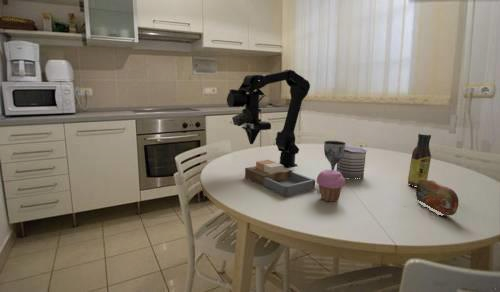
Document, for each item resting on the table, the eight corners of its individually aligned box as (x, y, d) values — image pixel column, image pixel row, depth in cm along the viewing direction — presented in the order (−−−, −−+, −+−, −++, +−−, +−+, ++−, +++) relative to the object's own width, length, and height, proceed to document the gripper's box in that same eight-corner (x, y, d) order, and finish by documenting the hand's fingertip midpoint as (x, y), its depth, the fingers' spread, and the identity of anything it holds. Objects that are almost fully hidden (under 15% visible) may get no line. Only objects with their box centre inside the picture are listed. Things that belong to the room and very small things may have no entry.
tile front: (275, 168, 116) (275, 162, 116) (283, 171, 113) (283, 165, 112) (263, 170, 113) (263, 164, 112) (271, 173, 109) (271, 167, 109)
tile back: (267, 165, 120) (268, 159, 120) (274, 168, 117) (275, 162, 116) (256, 167, 117) (256, 161, 116) (262, 170, 113) (263, 164, 113)
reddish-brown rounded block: (413, 200, 97) (417, 176, 95) (422, 200, 97) (426, 176, 96) (447, 221, 83) (452, 193, 81) (457, 221, 83) (463, 192, 81)
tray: (291, 180, 115) (292, 171, 114) (314, 189, 105) (315, 180, 105) (263, 186, 107) (263, 177, 106) (285, 197, 98) (285, 187, 97)
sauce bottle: (419, 189, 107) (427, 136, 103) (403, 184, 113) (410, 133, 108) (430, 187, 110) (438, 134, 106) (414, 182, 116) (421, 132, 111)
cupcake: (348, 203, 94) (351, 173, 92) (324, 206, 91) (326, 175, 89) (333, 193, 102) (335, 165, 100) (310, 195, 100) (312, 167, 97)
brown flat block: (272, 172, 125) (272, 163, 124) (291, 180, 115) (292, 170, 114) (245, 177, 117) (245, 168, 116) (263, 186, 107) (263, 176, 106)
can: (340, 169, 131) (342, 143, 128) (367, 174, 124) (370, 146, 122) (331, 176, 121) (333, 147, 119) (359, 181, 115) (362, 151, 112)
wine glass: (342, 178, 119) (346, 141, 116) (342, 184, 112) (345, 145, 108) (322, 175, 121) (325, 140, 118) (320, 181, 114) (323, 143, 111)
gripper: (223, 105, 123) (223, 142, 126) (248, 109, 108) (248, 150, 111) (245, 104, 129) (245, 139, 132) (272, 108, 114) (271, 147, 117)
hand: (251, 144), depth 123 cm, fingers closed
